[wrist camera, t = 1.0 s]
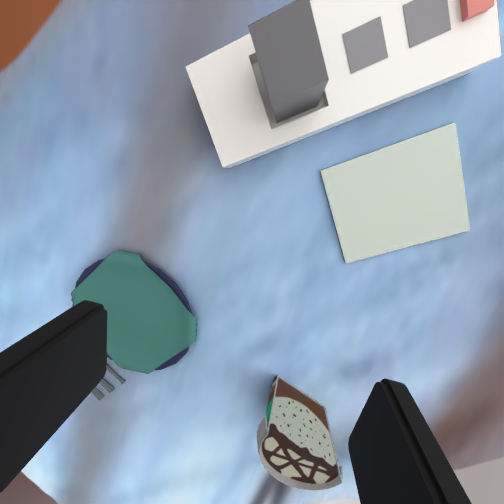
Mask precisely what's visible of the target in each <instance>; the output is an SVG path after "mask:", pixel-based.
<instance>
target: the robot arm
mask: <svg viewBox="0 0 504 504" xmlns="http://www.w3.org/2000/svg"><path fill="white" fill-rule="evenodd" d="M106 367H107V310H105V309H104V306H103V304H100V303H96V302H93V301H89V300H83V301H81V302H80V303H78V304H76V305H75V306H73V307H72V308H70V309H69V310H67V311H65V312H64V313H62V314H61V315H59V316H57V317H56V318H54V319H53V320H51V321H50V322H48V323H46V324H45V325H43V326H42V327H40V328H39V329H37V330H35V331H34V332H32V333H31V334H29V335H27V336H26V337H24V338H23V339H21V340H20V341H18V342H16V343H15V344H13V345H12V346H10V347H8V348H7V349H5V350H4V351H2V352H1V353H0V492H2V491H3V490H4V489H5V488H6V487H7V486H8V485H9V483H10V482H11V481H12V480H13V479H14V478H15V477H16V476H17V474H18V473H19V472H20V471H21V470H22V469H23V468H24V467H25V466H26V464H27V463H28V462H29V461H30V460H31V459H32V458H33V457H34V455H35V454H36V453H37V452H38V451H39V450H40V449H41V448H42V446H43V445H44V444H45V443H46V442H47V441H48V440H49V439H50V437H51V436H52V435H53V434H54V433H55V432H56V431H57V430H58V428H59V427H60V426H61V425H62V424H63V423H64V422H65V421H66V419H67V418H68V417H69V416H70V415H71V414H72V413H73V412H74V410H75V409H76V408H77V407H78V406H79V405H80V404H81V403H82V401H83V400H84V399H85V398H86V397H87V396H88V395H89V393H90V392H91V391H92V390H93V389H94V388H95V387H96V386H97V384H98V383H99V382H100V381H101V380H102V379H103V377H104V375H105V373H106ZM348 446H349V453H350V458H351V462H352V467H353V471H354V476H355V480H356V485H357V489H358V494H359V498H360V502H361V504H471V502H470V500H469V498H468V496H467V495H466V493H465V491H464V489H463V487H462V486H461V484H460V482H459V481H458V479H457V477H456V475H455V473H454V471H453V469H452V468H451V466H450V464H449V462H448V460H447V459H446V457H445V455H444V453H443V451H442V450H441V448H440V446H439V444H438V442H437V441H436V439H435V437H434V435H433V433H432V432H431V430H430V428H429V426H428V424H427V423H426V421H425V419H424V417H423V415H422V414H421V412H420V410H419V408H418V407H417V405H416V403H415V401H414V399H413V398H412V396H411V394H410V392H409V390H408V389H407V387H406V386H405V385H404V384H403V383H400V382H396V381H392V380H388V379H383V380H382V381H381V382H377V383H376V384H375V385H374V387H373V390H372V392H371V394H370V396H369V398H368V400H367V402H366V404H365V406H364V408H363V410H362V412H361V414H360V416H359V419H358V421H357V423H356V425H355V427H354V429H353V431H352V433H351V435H350V437H349V443H348Z"/></svg>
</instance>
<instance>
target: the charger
mask: <svg viewBox="0 0 504 504" xmlns="http://www.w3.org/2000/svg"><path fill="white" fill-rule="evenodd" d="M248 28H249V31H250V35H251V38H252V42H253V45H254V49H255V52H256V56H257V59H258V63H259V66H260V70H261V73H262V76H263V80H264V83H265V86H266V89H267V93H268V96H269V99H270V103H271V106H272V109H273V113H274V116H275V119H276V122H277V123H279V122H281V121H284V120H286V119H288V118H291V117H293V116H296V115H298V114H300V113H303V112H305V111H307V110H310V109H312V108H315V107H317V106H318V104H319V101H320V99H321V97H322V94H323V92H324V90H325V87H326V85H327V83H328V80H329V78H328V74H327V70H326V65H325V61H324V57H323V53H322V49H321V45H320V41H319V37H318V33H317V29H316V25H315V20H314V16H313V12H312V8H311V4H310V0H296V1H294V2H292V3H290V4H288V5H286V6H284V7H282V8H280V9H279V10H277V11H275V12H273V13H271V14H269V15H267V16H265V17H263V18H262V19H260V20H258V21H256V22H254V23H252V24H250V25H248Z"/></svg>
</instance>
